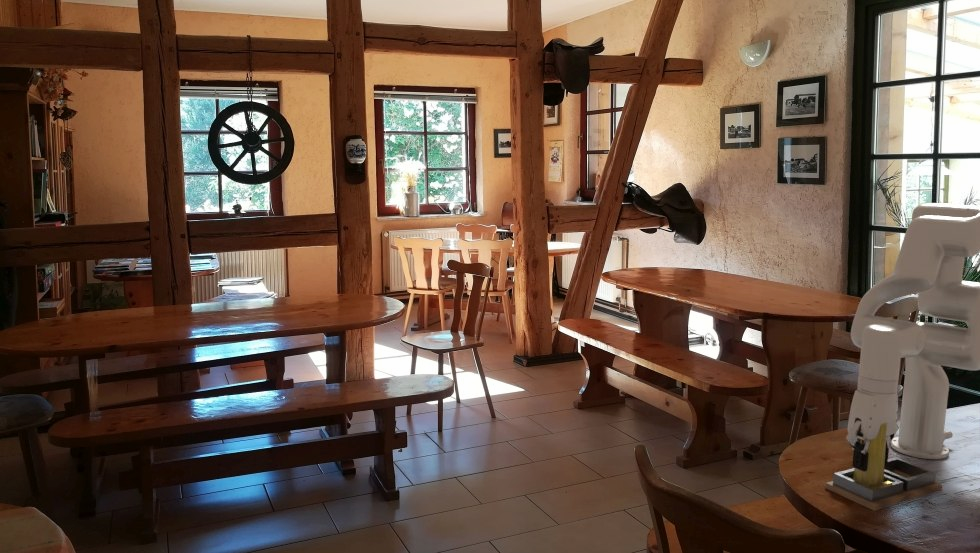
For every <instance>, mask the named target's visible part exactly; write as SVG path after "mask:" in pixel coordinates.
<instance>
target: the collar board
mask: <svg viewBox="0 0 980 553" xmlns="http://www.w3.org/2000/svg"><path fill="white" fill-rule="evenodd" d="M890 472H893V473H895V474H898V475H900V476H903V477H905V478H909V477H913V476H910V475H908V474H905V473H903V472H901V471H898V470H894V471H890ZM825 489H827V490H829V491H831V492H833V493H835V494H838V495H839V496H842V497H844V498H846V499H848V500H850V501H852V502H854V503H856V504H859V505H861V506H863V507H865V508H868V509H870V510H871V511H875V512H876V511H878V510H883V509H885V508H888V507H891V506H890V505H892V506H894V505H893V504H895V505H897V504H896V503H898V504H900V503H899V502H902V503H904V502H903V501H905V502H907V501H906V500H908V501H911V500H910V499H912V500H915V499H918V498H920V497H925V496H928V495H931V494H934V493H937V492H940V491H943V484H941V483H938V482H937V481H936V482H935V484H932V485H929V486H925V487H922V488H918V489H915V490H912V491H908V492H906V491H903V492H902V493H901V494H898V495H895V496H891V497H888V498H885V499H881V500H878V501H874V502H870V501H868V500H866V499H864V498H862V497H859V496H857V495H855V494H853V493H851V492H848V491H846V490H844V489H842V488H840V487H838V486H835V485H833V480H831V481H827V482H825Z"/></svg>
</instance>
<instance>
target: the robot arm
mask: <svg viewBox="0 0 980 553" xmlns="http://www.w3.org/2000/svg"><path fill="white" fill-rule="evenodd" d="M978 254H980V205H969V204H968V205H967V204H956V203H940V202H939V203H936V202H931V203H930V202H928V203H921V204H919V205H917V206H916V207H914V209H913V211H912V213H911V221H910V222H909V224H908V225H907V228H906V230H905V234H904V237H903V240H902V243H901V246H900V250H899V252H898V255H897V258H896V261H895V264H894V268H893V271H892V272H891V273H890V274H889V275H888V276H886V277H884V278H882V279H880V281H878V282H877V283H875V284H874V285H873V286H872V287H871V288H870V289H868V290H867V291H866V292H865V294H864V295H863V296H862V298H861V299H860V302H859V304H858V306H857V308H856V309H857V310H856V312H855V315H854V317H853V320H852V325H851V329H850V338H851V341H852V343H853V344H854V346H856V347H858V348H860V357H859V368H858V378H857V389H856V390H855V391H854V394H853V397H852V401H851V404H850V409H849V415H848V422H847V423H848V424H847V435H846V437H845V439H846V440H847V442H848V443H849V444H850V446H851V449H852V450H853V455H852V468H857V469H859V470H861V471H864V472H865V471H867V468H868V457H869V454H868V453H866V452H867V450H868V447H869V443H870V440H873V439H876V438H877V436H878V434H879V430H880V426H881V424H884V423H887V429H886V436H887V437H886V449H885V466H887V463H888V459H889V451H890V448H892V449H893V450H895V451H897V452H899V453H901V454H903V455H906V456H908V457H913V458H918V459H925V460H942V459H946V458H947V457H949V454H950V449H949V448H948V447H947V446H946V445H945V444H944V443H945V441H946V440H949V439H951V438H953V435H954V434H953V432H952V431H951V430H945V426H946V424H945V423H946V418H947V417H946V416H947V415H946V414H947V409H948V408H947V407H948V398H949V391H950V382H949V378H948V375H947V374H946V371H945V370H944V368H943V367H942V366H944V367H949V368H956V369H960V370H965V371H966V370H967V371H980V282H977V281H969V280H965V279H964V280H963V273H964V268H965V267H964V266H965V258H971V257H975V256H976V255H978ZM915 294H917V308H918V311H919V312H920V313H921V314H923V315H924V316H928V317H932V318H938V319H942V320H943V319H944V320H950V321H955V322H956V321H957V322H963V323H966V324H967V327H968V328H966V327H961V326H955V325H954V326H953V325H948V324H945V323H944V324H943V323H936V322H929V321H927V322H926V321H924V322H923V321H919V322H912V321H908V320H902V319H895V318H890V317H884V316H879V315H875V314H876V312H878V310H879V309H880V308H881V307H882V306H883V305H885V304H887V303H888V302H890V301H893V300H897V299H899V298H903V297H907V296H911V295H915ZM901 359H905V364H904V365H905V368H904V369H905V371H904V382H903V383H904V384H903V388H902V389H903V392H902V399H901V400H902V401H901V409H900V418H899V419H900V420H899V425H898V416H899V414H898V413H899V400H898V399H899V398H898V389H899V388H898V387H899V380H900V379H899V378H900V369H901ZM897 432H898V436H895V435H896V433H897ZM861 434H863V437H862V436H861ZM860 439H861V440H864V443H863V446H862V444H861V443H860Z"/></svg>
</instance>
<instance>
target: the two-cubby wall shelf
mask: <svg viewBox="0 0 980 553" xmlns="http://www.w3.org/2000/svg"><path fill="white" fill-rule="evenodd" d="M894 470H898V471H901V472H903V473H905V474H908V475H910V476H913V477H909V478H905V477H903V476H900V475H898V474H895V473H893V472H890V471H894ZM853 476H854V467H852V468H848V469H845V470H841V471H838V472H837V471H836V472H834V473H833V477H832V481H833V485H835V486H838V487H840V488H842V489H844V490H846V491H848V492H851V493H853V494H855V495H857V496H859V497H862V498H864V499H866V500H868V501H870V502H874V501H878V500H881V499H885V498H888V497H891V496H895V495H898V494H901V493H902V492H903V491H906V492H908V491H912V490H915V489H918V488H922V487H925V486H929V485H932V484H935V482H936V483H937V481H936V480H937V472H936V471H933V470H931V469H928V468H925V467H923V466H920V465H918V464H916V463H913V462H910V461H908V460H906V459H902V458H900V457H898V456H895V457H890V458H888V463H887V466H884V482H882V483H881V485H880V486H877V487H874V488H871V487H869V486H867V485H864V484H862V483H860V482H857V481H855V480H853V479H852V478H853Z"/></svg>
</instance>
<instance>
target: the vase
mask: <svg viewBox="0 0 980 553" xmlns="http://www.w3.org/2000/svg"><path fill="white" fill-rule="evenodd" d="M886 429H887V423H884V424H881V426H880V430H879V434H878V436H877V438H876V439H873V440H870V443H869V447H868V450H867V452H866V453H868V454H869V457H868V468H867V471H865V472H864V471H861V470H859V469H857V468H854V467H853V468H854V476H853V478H852V479H853V480H855V481H857V482H860V483H862V484H864V485H867V486H869V487H871V488H874V487H877V486H880V485H881V483H882V482H884V466H885V449H886V437H887V436H886ZM861 436H862V437H863V434H861ZM860 443H861V444H862V446H863V443H864V440H861V439H860Z"/></svg>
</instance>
